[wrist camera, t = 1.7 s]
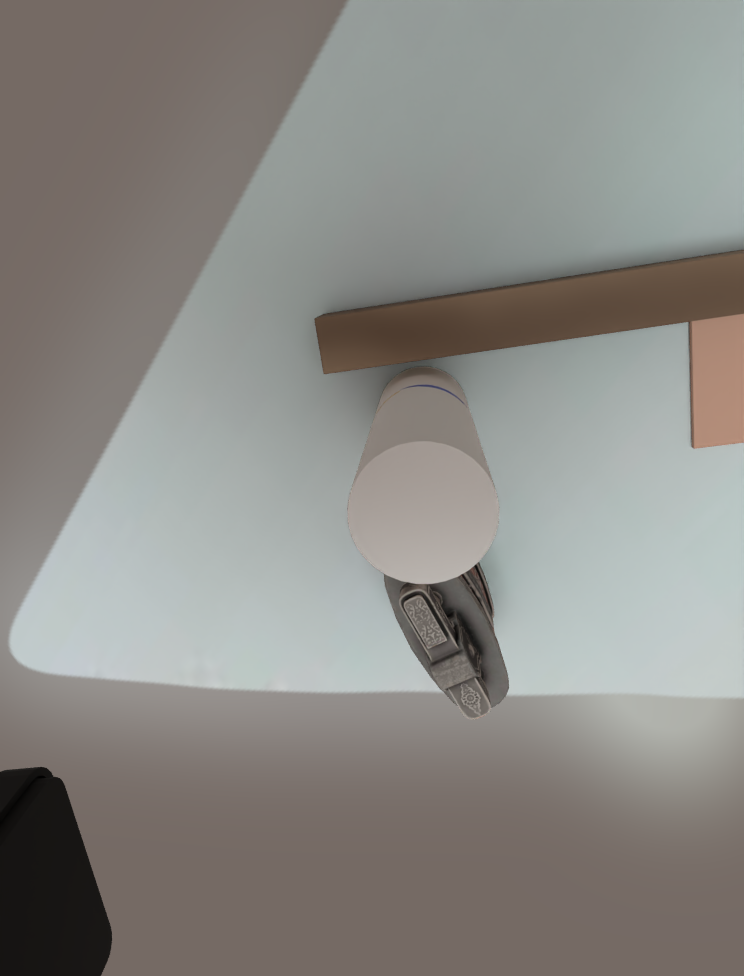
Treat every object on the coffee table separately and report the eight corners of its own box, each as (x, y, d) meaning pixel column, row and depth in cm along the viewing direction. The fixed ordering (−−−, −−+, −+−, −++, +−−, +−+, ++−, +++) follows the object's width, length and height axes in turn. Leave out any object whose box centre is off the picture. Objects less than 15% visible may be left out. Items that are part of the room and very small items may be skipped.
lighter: (506, 611, 37) (535, 730, 28) (449, 637, 38) (457, 762, 28) (436, 481, 35) (441, 561, 26) (376, 511, 36) (360, 599, 26)
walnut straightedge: (323, 314, 33) (314, 318, 30) (868, 230, 31) (913, 226, 28) (332, 365, 34) (323, 374, 31) (865, 287, 31) (909, 290, 28)
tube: (404, 468, 35) (392, 607, 21) (362, 393, 34) (319, 484, 20) (482, 428, 34) (525, 545, 20) (441, 349, 33) (455, 413, 19)
